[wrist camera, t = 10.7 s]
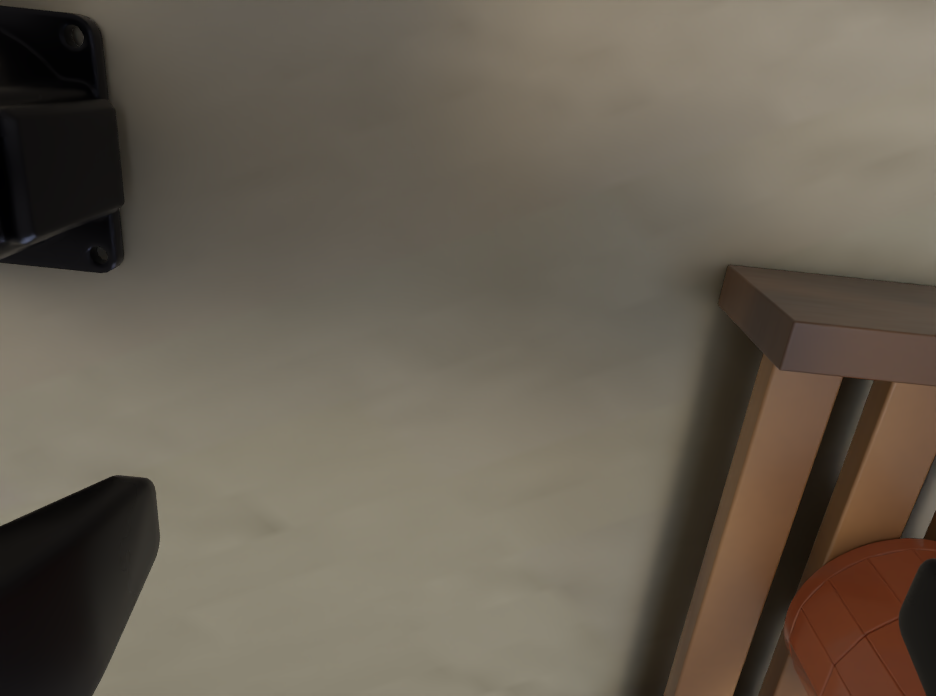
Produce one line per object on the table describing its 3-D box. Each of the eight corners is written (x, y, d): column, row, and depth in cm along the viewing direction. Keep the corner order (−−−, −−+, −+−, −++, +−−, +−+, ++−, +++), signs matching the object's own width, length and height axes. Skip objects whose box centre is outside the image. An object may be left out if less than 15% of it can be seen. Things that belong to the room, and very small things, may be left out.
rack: (608, 729, 26) (631, 856, 22) (727, 264, 19) (793, 321, 15) (919, 760, 26) (1000, 892, 22) (1154, 309, 19) (1341, 378, 15)
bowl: (760, 681, 21) (827, 837, 17) (816, 526, 18) (911, 660, 14) (948, 700, 21) (1061, 860, 17) (1027, 548, 19) (1182, 688, 14)
